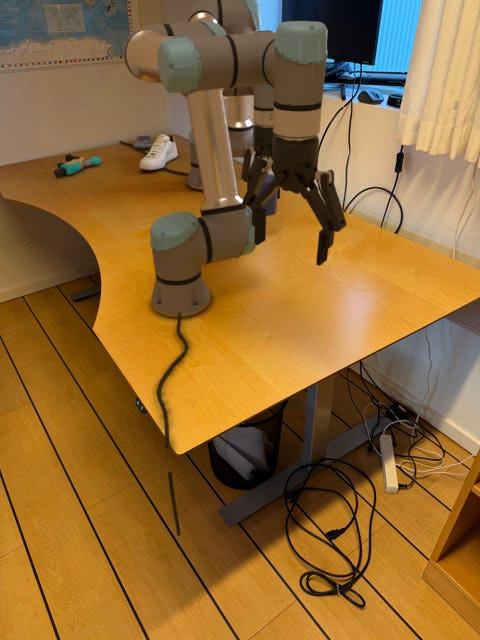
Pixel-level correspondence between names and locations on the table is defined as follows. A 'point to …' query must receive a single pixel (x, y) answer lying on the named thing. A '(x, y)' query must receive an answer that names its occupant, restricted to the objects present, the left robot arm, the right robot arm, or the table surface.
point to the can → (272, 202)
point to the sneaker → (160, 153)
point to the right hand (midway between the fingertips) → (264, 199)
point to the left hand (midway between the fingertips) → (289, 252)
